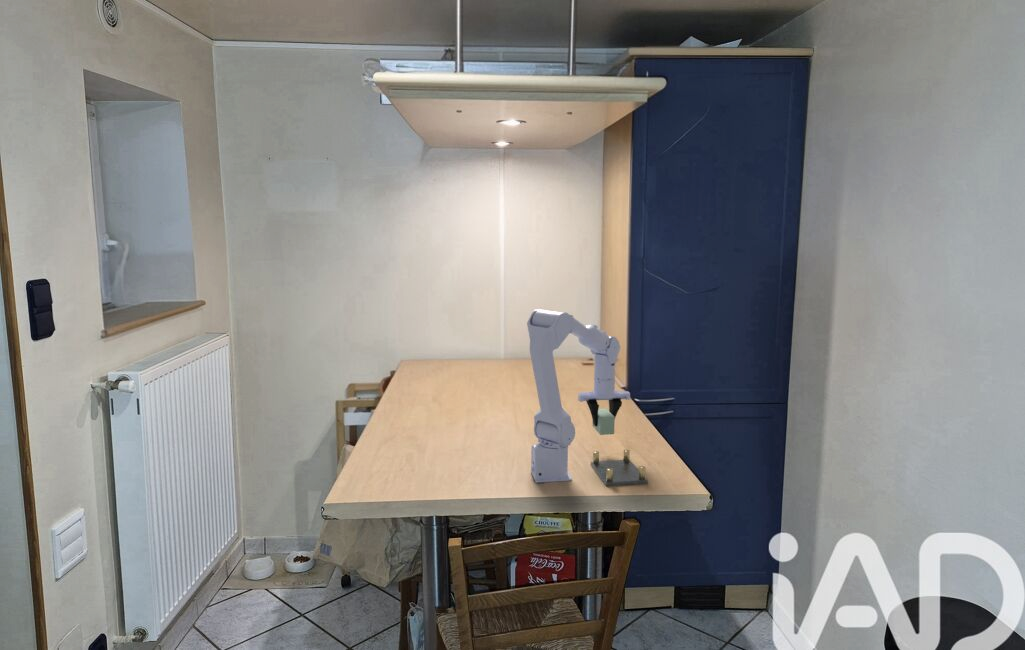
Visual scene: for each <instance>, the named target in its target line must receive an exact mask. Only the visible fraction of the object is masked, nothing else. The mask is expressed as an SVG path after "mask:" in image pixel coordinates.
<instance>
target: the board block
mask: <svg viewBox="0 0 1025 650" xmlns="http://www.w3.org/2000/svg"><path fill="white" fill-rule="evenodd" d="M615 421H616V417H614V416H613V415H612V414H611V413H610V412H609V409H607V408H598V425H597V426H594V425H593V422H592V427H593V429H594V430H595V431H596V432H597V433H598V434H599V436H604V435H606V436H608V435H615V423H616V422H615Z"/></svg>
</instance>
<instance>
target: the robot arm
mask: <svg viewBox="0 0 1025 650" xmlns="http://www.w3.org/2000/svg"><path fill="white" fill-rule="evenodd" d="M526 325H527V331H528V336H529V354H530V359H531V364H532V369H533V374H534V380H535V388H536V391H537V392H536V394H537V398H538V403H539V410H538V411H537V412H536V413H535V414H534V415H533V421H534V425H533V434H534V436H535V438H537V442H538V443H536V444H532V445H531V450H530V460H531V461H530V463H531V464H530V473H531V476H532V477H533V480H534V482H535V483H537V484H538V483H551V482H552V483H553V482H569V481H570V482H571V481H572V480H573V478H572V476H571V474H570V473H569V472H568V471H569V465H568V463H569V446H571V444H572V442H573V441H574V440H575V436H576V428H575V424H574V423H573V422H572V418H571V415H570V414H569V413H568V412H567V411H566V410H565V409H564V408H563V407H562V401H561V395H560V388H559V383H558V378H557V377H558V376H557V372H556V364H555V359H554V353H553V352H554V350H556V349H559V347H560V346H561V345H562V344H563V342H564V341H565V340H566V338H568V336H569V335H570V334H571V335H573V336H575V337H577V338H578V341H579V343H580V344H581V345H582V346H585V347H586V348H588V349H589V350H590V352H591V354H592V355H594V374H593V375H594V376H593V380H594V381H593V391H587V392H579V393H577V401H578V402H586V404H587V406H588V408H589V409H588V410H589V411H590V414H591V419H592V423H593V425H594V426H597V425H598V409H600V408H599V407H600V405H599V404H598V401H608V411H609V412H610V413H611V414H612V415H613V416H614V417H615V418H616V417H617V414H618V412H619V410H620V409H621V407H622V405H623V402H622V400H626V401H630V400H631V392H629V391H628V390H627V391H623V390H621V391H620V390H615V385H616V363H617V361H618V357H619V353H620V352H621V351H620V350H621V345H620V341H619V340H618V338H617V337H615V336H611V335H608V334H607V332H606V331H605V330H600V329H599V328H598V325H596V324H587V325H584V324H583V323H582V322H580V321H579V320H577V319H576V318H575V317H574V315H572V314H569V313H568V312H564V311H563V312H560V311H554V310H553V311H552V310H545V309H542V308H537V309H536V308H535V309H534V310H533V311H532V312H531V314H530V316H529V318H528V320H527V322H526Z"/></svg>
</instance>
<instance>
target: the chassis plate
mask: <svg viewBox="0 0 1025 650" xmlns="http://www.w3.org/2000/svg"><path fill="white" fill-rule="evenodd" d="M630 452H631V451H630V450H629V449H627V448H626V449H623V458H622V459H614V460H613V459H611V460H600V451H598V450H595V451H594V450H593V451H592V461H590V467H591V468H592V469H593V470H594V472H595V474H597V477H599V479H600V480H601V482H602V483H603V484H604V486H605V487H610V486H611V487H613V486H630V485H645V484H648V481H649V480H648V478H647V477H646V467H645V466H643V465H641V466H639V467H637V466H636V465H635V464H634V463H633V461H631V459H630V455H631V454H630Z"/></svg>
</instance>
